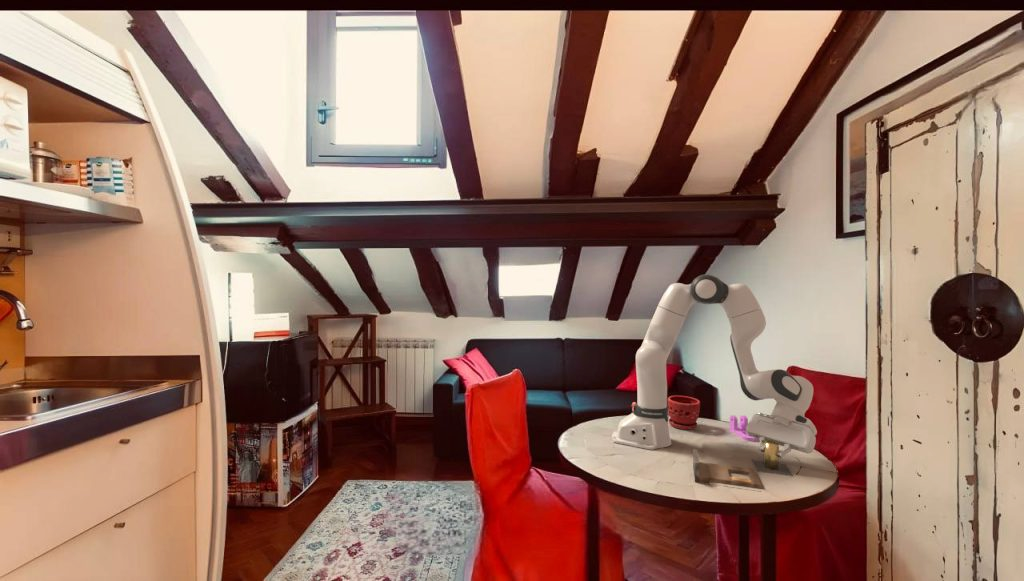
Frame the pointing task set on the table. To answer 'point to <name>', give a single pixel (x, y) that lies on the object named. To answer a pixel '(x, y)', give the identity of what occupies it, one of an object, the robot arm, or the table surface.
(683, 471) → the table surface
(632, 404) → the robot arm
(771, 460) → the brass peg
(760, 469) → the pad
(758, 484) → the socket block
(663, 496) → the table surface
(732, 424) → the bracket
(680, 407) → the plant pot
